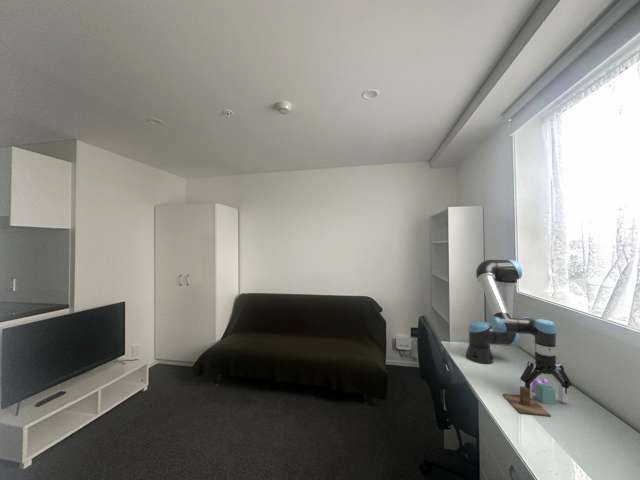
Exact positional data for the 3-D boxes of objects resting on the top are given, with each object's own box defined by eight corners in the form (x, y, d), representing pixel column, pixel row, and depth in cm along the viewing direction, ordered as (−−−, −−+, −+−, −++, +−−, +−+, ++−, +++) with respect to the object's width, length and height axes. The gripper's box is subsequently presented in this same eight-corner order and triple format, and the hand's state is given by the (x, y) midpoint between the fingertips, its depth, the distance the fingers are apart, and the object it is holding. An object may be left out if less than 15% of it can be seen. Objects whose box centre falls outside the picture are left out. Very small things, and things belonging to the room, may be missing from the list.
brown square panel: (502, 395, 126) (502, 379, 126) (529, 397, 124) (529, 381, 124) (519, 413, 112) (519, 395, 112) (550, 416, 110) (550, 398, 110)
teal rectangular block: (535, 396, 125) (535, 382, 125) (547, 397, 124) (547, 383, 124) (542, 402, 120) (542, 388, 120) (555, 404, 119) (555, 389, 119)
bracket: (548, 395, 126) (548, 381, 126) (533, 392, 129) (533, 378, 129) (541, 383, 138) (541, 370, 138) (528, 380, 140) (528, 367, 140)
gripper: (520, 354, 121) (521, 400, 120) (581, 358, 117) (582, 406, 116) (511, 348, 128) (511, 391, 128) (568, 352, 124) (569, 396, 124)
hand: (545, 398), depth 122 cm, fingers open, 13 cm apart
